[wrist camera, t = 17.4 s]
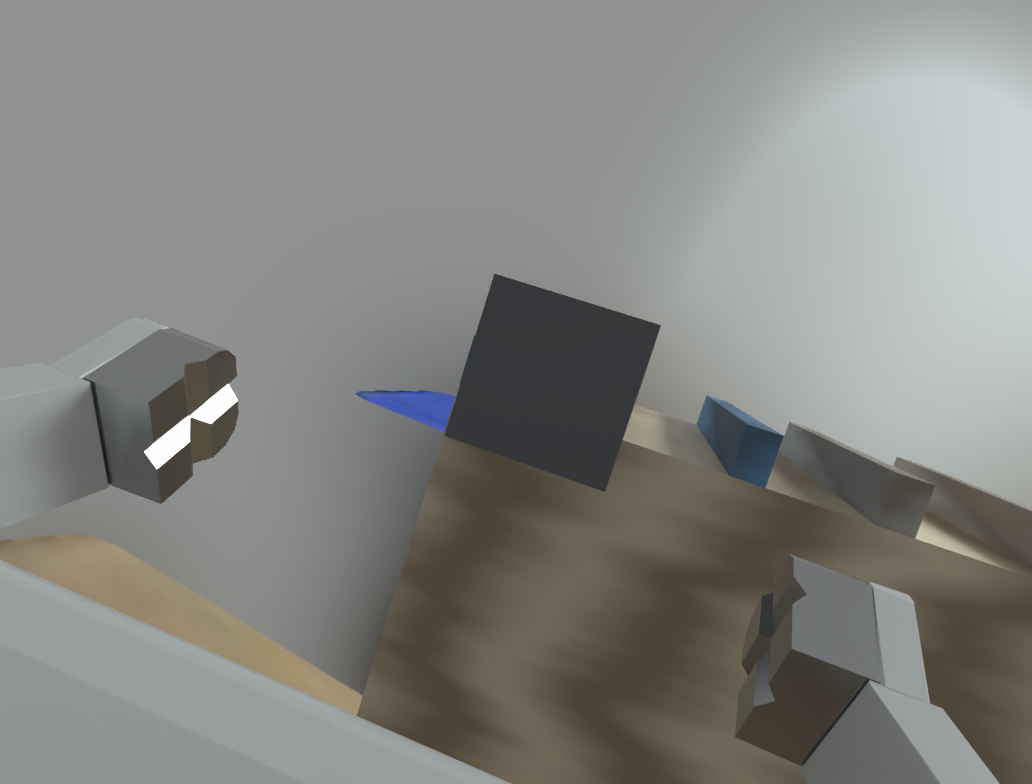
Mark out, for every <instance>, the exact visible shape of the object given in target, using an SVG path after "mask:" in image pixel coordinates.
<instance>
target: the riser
mask: <svg viewBox="0 0 1032 784" xmlns="http://www.w3.org/2000/svg"><path fill="white" fill-rule="evenodd" d="M474 338H475V336H474ZM473 342H474V339H473ZM473 342H472V345H473ZM472 345H471V348H472ZM470 351H471V349H470ZM469 355H470V352H469ZM469 355H468V358H469ZM468 358H467V361H468ZM466 364H467V362H466ZM465 367H466V365H465ZM464 371H465V368H464ZM464 371H463V374H464ZM462 377H463V375H462ZM461 380H462V378H461ZM460 384H461V381H460ZM460 384H459V387H460ZM459 387H458V390H459ZM457 393H458V391H457ZM456 397H457V394H456ZM456 397H455V400H456ZM455 400H454V403H455ZM454 403H453V406H454ZM452 409H453V407H452ZM451 413H452V410H451ZM451 413H450V416H451ZM450 416H449V419H450ZM448 422H449V420H448ZM447 426H448V423H447ZM447 426H446V429H447ZM446 429H445V432H446ZM445 432H444V435H445ZM783 437H784V439H783ZM782 440H783V441H782ZM781 443H782V444H781ZM780 446H781V447H780ZM779 448H780V450H779ZM778 451H779V452H778ZM788 554H791V555H794V556H796V557H799V558H802V559H805V560H808V561H810V562H813V563H816V564H819V565H822V566H825V567H827V568H830V569H833V570H836V571H839V572H841V573H844V574H847V575H850V576H853V577H855V578H858V579H861V580H864V581H866V582H868V581H869V582H872V583H875V584H878V585H881V586H884V587H887V588H890V589H893V590H896V591H899V592H902V593H905V594H908V595H909V596H910V597H911V599H912V600H913V601H914V606H915V612H916V618H917V625H918V631H919V637H920V644H921V650H922V656H923V662H924V669H925V675H926V681H927V688H928V694H929V700H930V704H932V705H935V706H938V707H940V708H943V710H944V711H945V712H946V714H947V715H948V716H949V718H950V719H951V720H952V722H953V723H954V724H955V726H956V727H957V728H958V729H959V731H960V732H961V733H962V735H963V736H964V737H965V739H966V740H967V741H968V743H969V744H970V745H971V747H972V748H973V749H974V751H975V752H976V753H977V755H978V756H979V757H980V759H981V760H982V761H983V762H984V764H985V765H986V766H987V768H988V769H989V770H990V772H991V773H992V774H993V776H994V777H995V778H996V780H997V781H998V782H999V784H1032V509H1031V508H1028V507H1026V506H1023V505H1021V504H1018V503H1016V502H1013V501H1011V500H1008V499H1006V498H1003V497H1001V496H998V495H996V494H993V493H991V492H988V491H986V490H983V489H981V488H978V487H976V486H973V485H971V484H968V483H966V482H963V481H961V480H958V479H956V478H953V477H951V476H948V475H946V474H943V473H940V472H938V471H936V470H933V469H931V468H928V467H926V466H923V465H921V464H918V463H914V462H912V461H909V460H905V459H903V458H899V457H897V458H896V461H895V463H894V466H891V465H889V464H887V463H885V462H883V461H880V460H878V459H876V458H874V457H872V456H869V455H867V454H865V453H863V452H860V451H858V450H856V449H854V448H852V447H849V446H847V445H845V444H843V443H840V442H838V441H836V440H834V439H832V438H830V437H827V436H825V435H823V434H821V433H819V432H816V431H814V430H812V429H809V428H806V427H803V426H800V425H797V424H794V423H791V422H789V425H788V427H787V430H786V433H785V436H783V435H781V434H779V433H778V432H776V431H774V430H773V429H771V428H770V427H768V426H766V425H765V424H763V423H761V422H759V421H758V420H756V419H754V418H753V417H751V416H750V415H748V414H746V413H745V412H743V411H741V410H739V409H738V408H736V407H734V406H733V405H731V404H729V403H728V402H726V401H722V400H719V399H716V398H713V397H710V396H706V399H705V402H704V405H703V407H702V410H701V413H700V416H699V419H698V422H697V425H695V424H692V423H689V422H686V421H683V420H680V419H677V418H674V417H671V416H668V415H665V414H662V413H659V412H656V411H652V410H650V409H646V408H644V407H640V406H637V405H634V408H633V411H632V414H631V417H630V420H629V423H628V426H627V429H626V432H625V435H624V438H623V440H622V443H621V446H620V449H619V452H618V455H617V458H616V461H615V464H614V467H613V470H612V473H611V476H610V479H609V482H608V485H607V488H606V491H605V492H603V491H601V490H598V489H595V488H592V487H589V486H586V485H583V484H581V483H578V482H575V481H572V480H569V479H566V478H563V477H561V476H558V475H555V474H552V473H549V472H546V471H543V470H540V469H538V468H535V467H532V466H529V465H526V464H523V463H520V462H518V461H515V460H512V459H509V458H506V457H503V456H500V455H498V454H495V453H492V452H489V451H486V450H483V449H480V448H478V447H475V446H472V445H469V444H466V443H463V442H460V441H457V440H455V439H452V438H449V437H446V436H443V439H442V442H441V445H440V449H439V452H438V455H437V458H436V462H435V465H434V468H433V472H432V474H431V478H430V481H429V484H428V488H427V491H426V494H425V497H424V500H423V504H422V507H421V510H420V513H419V516H418V520H417V523H416V526H415V529H414V533H413V536H412V539H411V542H410V545H409V549H408V552H407V555H406V559H405V562H404V565H403V568H402V572H401V575H400V578H399V581H398V585H397V588H396V591H395V594H394V597H393V601H392V604H391V607H390V610H389V613H388V617H387V620H386V623H385V626H384V629H383V633H382V636H381V639H380V642H379V646H378V649H377V652H376V655H375V658H374V662H373V665H372V668H371V672H370V675H369V678H368V681H367V684H366V688H365V691H364V694H363V697H362V700H361V704H360V707H359V710H358V713H357V716H358V717H360V718H363V719H365V720H367V721H369V722H372V723H374V724H376V725H379V726H381V727H383V728H385V729H388V730H390V731H392V732H395V733H397V734H399V735H401V736H404V737H406V738H408V739H411V740H413V741H415V742H417V743H420V744H422V745H424V746H427V747H429V748H431V749H434V750H436V751H438V752H440V753H443V754H445V755H447V756H450V757H452V758H454V759H456V760H459V761H461V762H463V763H466V764H468V765H470V766H473V767H475V768H477V769H479V770H482V771H484V772H486V773H489V774H491V775H493V776H495V777H498V778H500V779H502V780H505V781H507V782H509V783H512V784H807V783H806V781H805V778H804V776H803V774H802V772H801V768H802V766H800V765H797V764H795V763H793V762H791V761H788V760H786V759H784V758H781V757H779V756H777V755H775V754H772V753H770V752H768V751H765V750H763V749H761V748H758V747H756V746H754V745H752V744H749V743H747V742H745V741H742V740H740V739H738V738H736V737H735V729H736V717H737V705H738V693H739V691H740V689H741V687H742V686H743V684H744V682H745V681H746V679H747V677H748V675H747V673H746V671H745V669H744V668H743V666H742V664H741V662H742V653H743V646H744V641H745V636H746V632H747V629H748V626H749V623H750V620H751V618H752V615H753V612H754V611H755V609H756V607H757V605H758V603H759V601H760V599H761V597H762V596H764V595H767V594H769V593H772V592H774V578H775V573H776V571H777V569H778V567H779V566H780V564H781V562H782V561H783V560H784V559H785V558H786V557H787V556H788Z"/></svg>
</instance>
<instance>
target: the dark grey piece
mask: <svg viewBox="0 0 1032 784" xmlns="http://www.w3.org/2000/svg"><path fill="white" fill-rule="evenodd" d="M659 329H660V325H658V324H655V323H652V322H648V321H645V320H642V319H639V318H635V317H632V316H629V315H626V314H623V313H619V312H616V311H613V310H610V309H606V308H603V307H600V306H597V305H594V304H590V303H587V302H584V301H581V300H577V299H574V298H571V297H568V296H565V295H561V294H558V293H555V292H552V291H548V290H545V289H542V288H539V287H536V286H532V285H529V284H526V283H523V282H519V281H516V280H513V279H510V278H506V277H503V276H500V275H497V274H494V277H493V280H492V284H491V287H490V290H489V293H488V296H487V300H486V303H485V306H484V309H483V313H482V316H481V319H480V322H479V325H478V329H477V332H476V335H475V338H474V342H473V345H472V348H471V351H470V355H469V358H468V361H467V364H466V367H465V371H464V374H463V377H462V380H461V384H460V387H459V390H458V393H457V397H456V400H455V403H454V406H453V409H452V413H451V416H450V419H449V422H448V426H447V429H446V432H445V435H444V436H446V437H449V438H452V439H455V440H457V441H460V442H463V443H466V444H469V445H472V446H475V447H478V448H480V449H483V450H486V451H489V452H492V453H495V454H498V455H500V456H503V457H506V458H509V459H512V460H515V461H518V462H520V463H523V464H526V465H529V466H532V467H535V468H538V469H540V470H543V471H546V472H549V473H552V474H555V475H558V476H561V477H563V478H566V479H569V480H572V481H575V482H578V483H581V484H583V485H586V486H589V487H592V488H595V489H598V490H601V491H603V492H605V491H606V488H607V485H608V482H609V479H610V476H611V473H612V470H613V467H614V464H615V461H616V458H617V455H618V452H619V449H620V446H621V443H622V440H623V438H624V435H625V432H626V429H627V426H628V423H629V420H630V417H631V414H632V411H633V408H634V405H635V402H636V399H637V396H638V393H639V390H640V387H641V384H642V381H643V378H644V375H645V372H646V369H647V366H648V363H649V360H650V357H651V354H652V351H653V348H654V345H655V342H656V339H657V336H658V332H659Z"/></svg>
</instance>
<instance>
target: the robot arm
mask: <svg viewBox="0 0 1032 784" xmlns="http://www.w3.org/2000/svg"><path fill="white" fill-rule="evenodd" d="M236 376H237V370H236V359H235V356H234V355H233V354H231V353H230V352H229V351H228V350H226V349H223V348H221V347H218V346H216V345H213V344H211V343H208V342H205V341H203V340H200V339H198V338H195V337H193V336H190V335H188V334H185V333H183V332H180V331H177V330H175V329H172V328H167V327H166V326H163V325H160V324H158V323H155V322H153V321H150V320H148V319H145V318H131V319H129V320H127V321H125V322H124V323H122V324H120V325H119V326H117V327H115V328H114V329H112V330H110V331H108V332H107V333H105V334H103V335H102V336H100V337H98V338H96V339H95V340H93V341H91V342H90V343H88V344H86V345H84V346H83V347H81V348H79V349H77V350H76V351H74V352H73V353H71V354H69V355H68V356H66V357H64V358H62V359H61V360H59V361H57V362H55V363H54V364H52V365H50V366H48V365H45V364H42V363H36V364H29V365H23V366H17V367H11V368H5V369H0V529H1V528H4V527H6V526H9V525H12V524H14V523H17V522H19V521H22V520H25V519H27V518H30V517H32V516H35V515H38V514H40V513H43V512H46V511H48V510H51V509H54V508H56V507H59V506H62V505H64V504H66V503H69V502H72V501H74V500H77V499H80V498H83V497H85V496H88V495H90V494H93V493H96V492H98V491H101V490H103V489H106V488H108V487H109V485H112V486H114V487H117V488H120V489H123V490H125V491H128V492H130V493H133V494H136V495H138V496H141V497H144V498H147V499H149V500H152V501H155V502H157V503H160V504H162V503H163V502H164V501H165V500H166V499H167V498H168V497H169V496H171V495H172V494H173V493H174V492H175V491H176V490H177V489H178V488H180V487H181V486H182V485H183V484H184V483H185V482H186V481H187V480H188V479H189V478H191V477H192V475H193V463H195V462H199V461H202V460H206V459H209V458H213V457H214V456H215V455H216V454H217V453H218V452H219V451H220V450H221V449H222V448H223V447H224V446H225V445H226V443H227V441H228V440H229V438H230V436H231V435H232V433H233V431H234V429H235V426H236V421H237V417H238V400H237V398H236V396H235V395H234V393H233V391H232V390H231V388H230V386H229V385H228V384H229V383H230V382H231V381H232V380H233V379H234V378H235V377H236ZM108 484H109V485H108ZM741 664H742V666H743V668H744V669H745V671H746V673H747V675H748V677H747V679H746V681H745V682H744V684H743V686H742V687H741V689H740V691H739V693H738V705H737V717H736V729H735V737H736V738H738V739H740V740H742V741H745V742H747V743H749V744H752V745H754V746H756V747H758V748H761V749H763V750H765V751H768V752H770V753H772V754H775V755H777V756H779V757H781V758H784V759H786V760H788V761H791V762H793V763H795V764H797V765H800V766H802V768H801V772H802V774H803V776H804V778H805V781H806V783H807V784H999V782H998V781H997V780H996V778H995V777H994V776H993V774H992V773H991V772H990V770H989V769H988V768H987V766H986V765H985V764H984V762H983V761H982V760H981V759H980V757H979V756H978V755H977V753H976V752H975V751H974V749H973V748H972V747H971V745H970V744H969V743H968V741H967V740H966V739H965V737H964V736H963V735H962V733H961V732H960V731H959V729H958V728H957V727H956V726H955V724H954V723H953V722H952V720H951V719H950V718H949V716H948V715H947V714H946V712H945V711H944V710H943V708H940V707H938V706H935V705H932V704H930V700H929V694H928V688H927V681H926V675H925V669H924V662H923V656H922V650H921V644H920V637H919V631H918V625H917V618H916V612H915V606H914V601H913V600H912V599H911V597H910V596H909V595H908V594H905V593H902V592H899V591H896V590H893V589H890V588H887V587H884V586H881V585H878V584H875V583H872V582H869V581H868V582H866V581H864V580H861V579H858V578H855V577H853V576H850V575H847V574H844V573H841V572H839V571H836V570H833V569H830V568H827V567H825V566H822V565H819V564H816V563H813V562H810V561H808V560H805V559H802V558H799V557H796V556H794V555H791V554H788V556H787V557H786V558H785V559H784V560H783V561H782V562H781V564H780V566H779V567H778V569H777V571H776V573H775V578H774V592H772V593H769V594H767V595H764V596H762V597H761V599H760V601H759V603H758V605H757V607H756V609H755V611H754V612H753V615H752V618H751V620H750V623H749V626H748V629H747V632H746V636H745V641H744V646H743V653H742V662H741ZM0 784H512V783H509V782H507V781H505V780H502V779H500V778H498V777H495V776H493V775H491V774H489V773H486V772H484V771H482V770H479V769H477V768H475V767H473V766H470V765H468V764H466V763H463V762H461V761H459V760H456V759H454V758H452V757H450V756H447V755H445V754H443V753H440V752H438V751H436V750H434V749H431V748H429V747H427V746H424V745H422V744H420V743H417V742H415V741H413V740H411V739H408V738H406V737H404V736H401V735H399V734H397V733H395V732H392V731H390V730H388V729H385V728H383V727H381V726H379V725H376V724H374V723H372V722H369V721H367V720H365V719H363V718H360V717H358V716H356V715H353V714H351V713H349V712H347V711H344V710H342V709H340V708H338V707H335V706H333V705H331V704H328V703H326V702H324V701H322V700H319V699H317V698H315V697H312V696H310V695H308V694H306V693H303V692H301V691H299V690H297V689H294V688H292V687H290V686H287V685H285V684H283V683H281V682H278V681H276V680H274V679H271V678H269V677H267V676H265V675H262V674H260V673H258V672H256V671H253V670H251V669H249V668H246V667H244V666H242V665H240V664H237V663H235V662H233V661H230V660H228V659H226V658H224V657H221V656H219V655H217V654H214V653H212V652H210V651H208V650H205V649H203V648H201V647H199V646H196V645H194V644H192V643H189V642H187V641H185V640H183V639H180V638H178V637H176V636H173V635H171V634H169V633H167V632H164V631H162V630H160V629H157V628H155V627H153V626H151V625H148V624H146V623H144V622H141V621H139V620H137V619H135V618H132V617H130V616H128V615H125V614H123V613H121V612H119V611H116V610H114V609H112V608H109V607H107V606H105V605H103V604H100V603H98V602H96V601H93V600H91V599H89V598H87V597H84V596H82V595H80V594H77V593H75V592H73V591H71V590H68V589H66V588H64V587H62V586H59V585H57V584H55V583H52V582H50V581H48V580H46V579H43V578H41V577H39V576H36V575H34V574H32V573H30V572H27V571H25V570H23V569H20V568H18V567H16V566H14V565H11V564H9V563H7V562H4V561H2V560H0Z"/></svg>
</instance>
